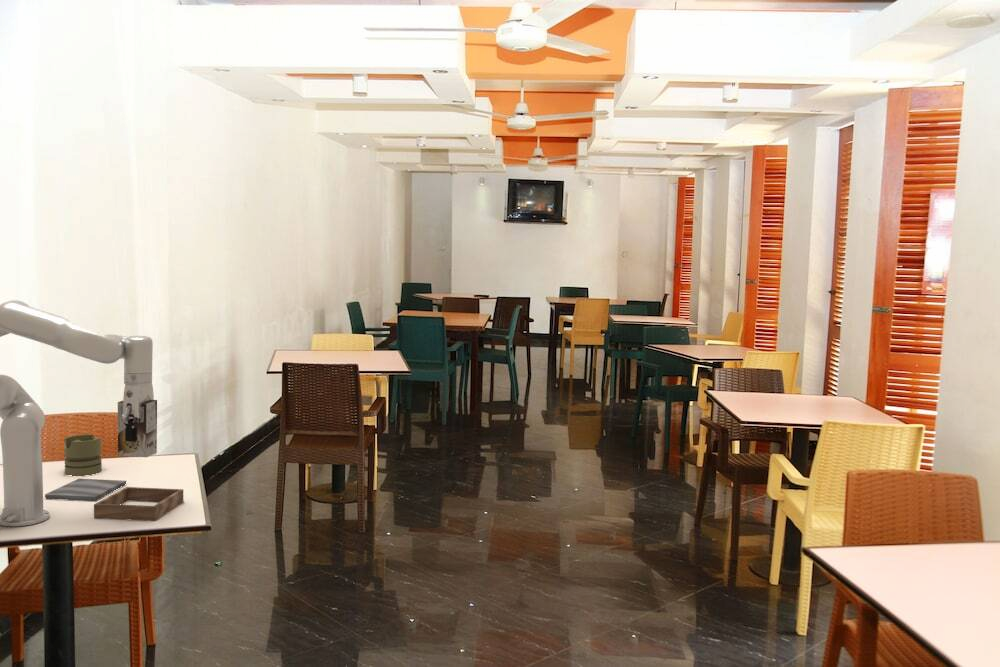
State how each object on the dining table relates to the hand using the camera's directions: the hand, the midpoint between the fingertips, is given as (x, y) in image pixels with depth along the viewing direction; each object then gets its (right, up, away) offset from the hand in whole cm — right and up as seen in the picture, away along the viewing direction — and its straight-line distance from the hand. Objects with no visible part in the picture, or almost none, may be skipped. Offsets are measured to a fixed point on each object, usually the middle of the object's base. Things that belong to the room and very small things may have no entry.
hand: (137, 438), depth 237 cm
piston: (-37, -17, +41) cm, 58 cm away
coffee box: (0, -5, 0) cm, 5 cm away
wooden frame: (0, -22, +2) cm, 22 cm away
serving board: (-24, -19, +18) cm, 36 cm away
